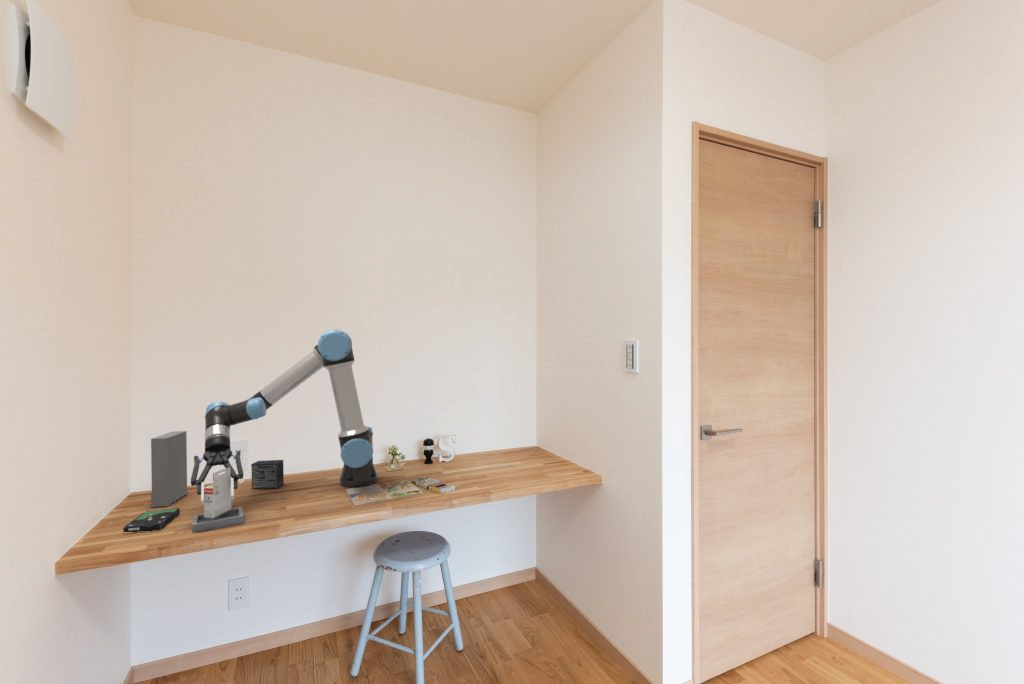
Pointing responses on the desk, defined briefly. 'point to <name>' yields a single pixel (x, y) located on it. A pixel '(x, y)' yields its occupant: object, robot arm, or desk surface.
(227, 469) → the ink box
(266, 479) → the small box
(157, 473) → the dark grey slab
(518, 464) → the desk surface
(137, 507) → the desk surface
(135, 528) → the disk drive
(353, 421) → the robot arm
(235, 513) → the holder
